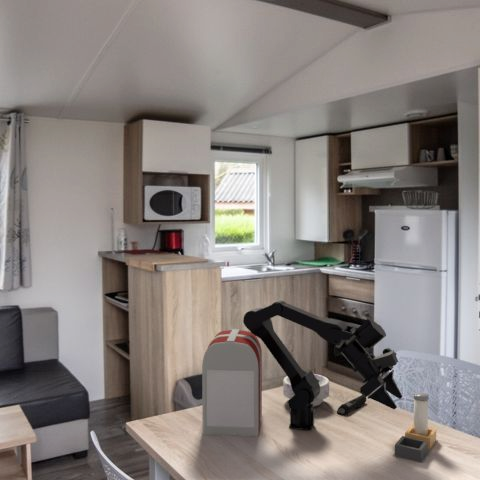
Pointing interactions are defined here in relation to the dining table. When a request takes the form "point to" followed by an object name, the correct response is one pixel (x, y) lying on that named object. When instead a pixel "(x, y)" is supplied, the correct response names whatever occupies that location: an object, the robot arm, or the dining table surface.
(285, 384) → the paper bowls
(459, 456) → the dining table surface
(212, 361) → the arched-top grey box
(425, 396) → the plug
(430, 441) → the two-tone square organizer tray
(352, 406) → the electric trimmer
